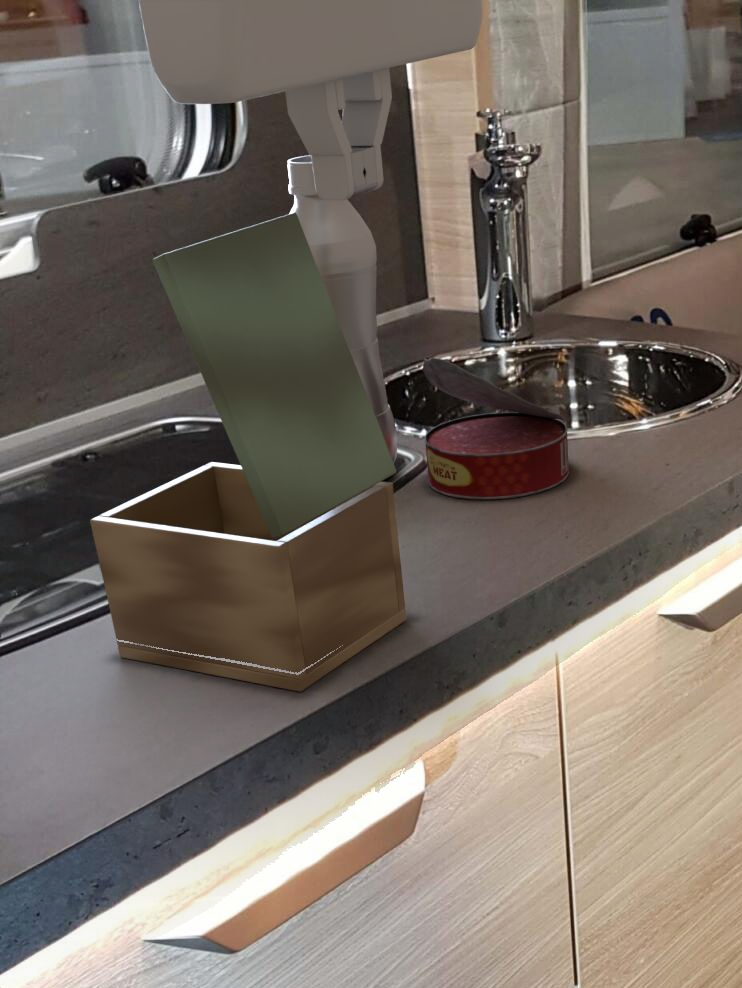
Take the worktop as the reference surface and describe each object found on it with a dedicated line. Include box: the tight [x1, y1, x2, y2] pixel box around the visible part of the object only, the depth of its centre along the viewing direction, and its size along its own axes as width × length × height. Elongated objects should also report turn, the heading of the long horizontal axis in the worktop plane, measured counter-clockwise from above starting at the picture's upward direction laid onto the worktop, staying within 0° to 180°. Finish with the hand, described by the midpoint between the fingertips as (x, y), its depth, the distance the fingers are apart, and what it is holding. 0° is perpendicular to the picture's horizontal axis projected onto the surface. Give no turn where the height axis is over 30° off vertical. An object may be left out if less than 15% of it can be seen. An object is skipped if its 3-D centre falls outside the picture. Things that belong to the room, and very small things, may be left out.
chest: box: [89, 461, 408, 692], centre depth 84 cm, size 12×10×8 cm
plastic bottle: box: [287, 154, 399, 464], centre depth 103 cm, size 6×7×20 cm
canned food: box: [422, 357, 570, 501], centre depth 106 cm, size 11×10×10 cm
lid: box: [152, 213, 397, 539], centre depth 76 cm, size 13×10×1 cm
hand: (351, 194), depth 69 cm, fingers closed
